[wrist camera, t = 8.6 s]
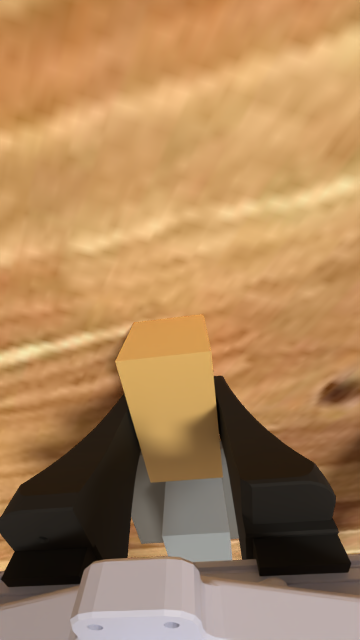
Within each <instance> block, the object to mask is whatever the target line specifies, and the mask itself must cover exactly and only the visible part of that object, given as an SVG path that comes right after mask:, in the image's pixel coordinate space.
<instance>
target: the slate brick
mask: <svg viewBox="0 0 360 640" xmlns="http://www.w3.org/2000/svg"><path fill="white" fill-rule="evenodd" d="M162 538H163V541H164V544H165V548H166V551H167V554H168V556H171V557H181V558H184V559H186V560H189V561H191V562H206V561H227V560H232V552H231V541H230V531H229V524H228V518H227V511H226V504H225V497H224V491H223V484H222V478H209V479H195V480H181V481H167V482H166V484H165V499H164V514H163V528H162Z"/></svg>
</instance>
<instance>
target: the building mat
mask: <svg viewBox="0 0 360 640" xmlns="http://www.w3.org/2000/svg"><path fill="white" fill-rule="evenodd" d="M220 450H221V460H222V471H223V478H222V484H223V491H224V497H225V504H226V511H227V518H228V524H229V531H230V539H237V538H239V535H238V529H237V523H236V516H235V510H234V504H233V498H232V492H231V485H230V479H229V473H228V468H227V463H226V458H225V454H224V451H223V447H222V443H221V441H220ZM165 484H166V482H153V483H151V482H150V479H149V475H148V472H147V469H146V465H145V462H144V458H143V455H142V452H141V453H140V457H139V462H138V466H137V472H136V478H135V486H134V494H133V503H132V512H131V517H132V520H133V522H134V525H135V528H136V530H137V533H138V536H139V538H140V541H141V543H142V544H144V543H163V542H164V541H163V538H162V528H163V514H164V499H165Z"/></svg>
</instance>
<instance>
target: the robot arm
mask: <svg viewBox="0 0 360 640" xmlns="http://www.w3.org/2000/svg"><path fill="white" fill-rule="evenodd" d="M214 386H215V397H216V407H217V418H218V429H219V435H220V439H221V443H222V447H223V451H224V454H225V458H226V463H227V468H228V473H229V479H230V485H231V492H232V498H233V504H234V510H235V516H236V523H237V529H238V535H239V541H240V548H241V554H242V560H227V561H206V562H191V561H189V560H186V559H184V558H181V557H171V556H161V557H141V558H127V557H128V544H129V533H130V522H131V512H132V503H133V494H134V486H135V478H136V472H137V466H138V462H139V457H140V453H141V448H140V445H139V441H138V438H137V434H136V431H135V428H134V424H133V421H132V417H131V414H130V411H129V407H128V404H127V400H126V397H125V393H124V394H123V396H122V397H121V398H120V399H119V401H118V402H117V403H116V404H115V406H114V407H113V408H112V409H111V411H110V412H109V413H108V414H107V415H106V416H105V418H104V419H103V420H102V421H101V422H100V423H99V424H98V425H97V426H96V427H95V428H94V429H93V430H92V431H91V432H90V433H89V434H88V435H87V436H86V437H85V438H84V439H83V440H82V441H81V442H79V443H78V444H77V445H76V446H75V447H74V448H72V449H71V450H70V451H69V452H68V453H66V454H65V455H64V456H63V457H61V458H60V459H59V460H57V461H56V462H55V463H53V464H52V465H50V466H49V467H48V468H46V469H45V470H43V471H42V472H40V473H39V474H37V475H36V476H34V477H32V478H31V479H29V480H28V481H26V482H25V483H23V484H21V485H20V487H19V488H18V490H17V491H16V493H15V495H14V496H13V498H12V500H11V501H10V503H9V504H8V506H7V508H6V509H5V511H4V513H3V514H2V516H1V517H0V533H1V535H2V537H3V538H4V539H5V540H6V541H7V543H8V544H9V545H10V546H11V548H12V549H13V550H14V551H15V552H14V554H13V556H12V558H11V560H10V562H9V564H8V566H7V568H6V570H5V571H0V640H360V554H352V555H347V553H346V551H345V549H344V547H343V545H342V543H341V541H340V539H339V537H338V535H337V534H338V533H339V532H338V528H337V526H336V524H335V522H334V520H333V518H332V516H333V512H334V507H335V503H336V496H335V494H334V492H333V490H332V488H331V486H330V484H329V483H328V481H327V480H326V478H325V477H324V475H323V474H322V472H321V471H320V470H319V468H318V467H317V466H316V464H315V463H313V462H312V461H310V460H309V459H307V458H305V457H304V456H302V455H300V454H299V453H297V452H296V451H294V450H293V449H291V448H290V447H288V446H287V445H286V444H284V443H283V442H282V441H280V440H279V439H278V438H277V437H275V436H274V435H273V434H272V433H270V432H269V431H268V430H267V429H266V428H265V427H264V426H262V425H261V424H260V423H259V422H258V421H257V420H256V419H255V418H254V417H253V416H252V415H251V414H250V413H249V412H248V411H247V409H246V408H245V407H244V406H243V405H242V404H241V402H240V401H239V400H238V399H237V397H236V396H235V395H234V393H233V392H232V391H231V389H230V388H229V386H228V385H227V383H226V381H225V379H224V377H223V376H214Z"/></svg>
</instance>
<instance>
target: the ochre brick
mask: <svg viewBox="0 0 360 640" xmlns="http://www.w3.org/2000/svg"><path fill="white" fill-rule="evenodd" d="M115 363H116V366H117V370H118V373H119V376H120V380H121V383H122V387H123V390H124V393H125V397H126V400H127V404H128V407H129V411H130V414H131V417H132V421H133V424H134V428H135V431H136V434H137V438H138V441H139V445H140V448H141V452H142V455H143V458H144V462H145V465H146V469H147V472H148V475H149V479H150V482H151V483H153V482H167V481H181V480H195V479H209V478H223V471H222V460H221V450H220V439H219V429H218V418H217V407H216V397H215V386H214V375H213V365H212V354H211V348H210V343H209V338H208V334H207V329H206V324H205V319H204V315H203V314H201V315H193V316H184V317H176V318H167V319H159V320H151V321H142V322H134V324H133V326H132V328H131V330H130V332H129V334H128V336H127V338H126V340H125V342H124V344H123V346H122V348H121V350H120V353H119V355H118V357H117V359H116V361H115Z"/></svg>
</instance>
